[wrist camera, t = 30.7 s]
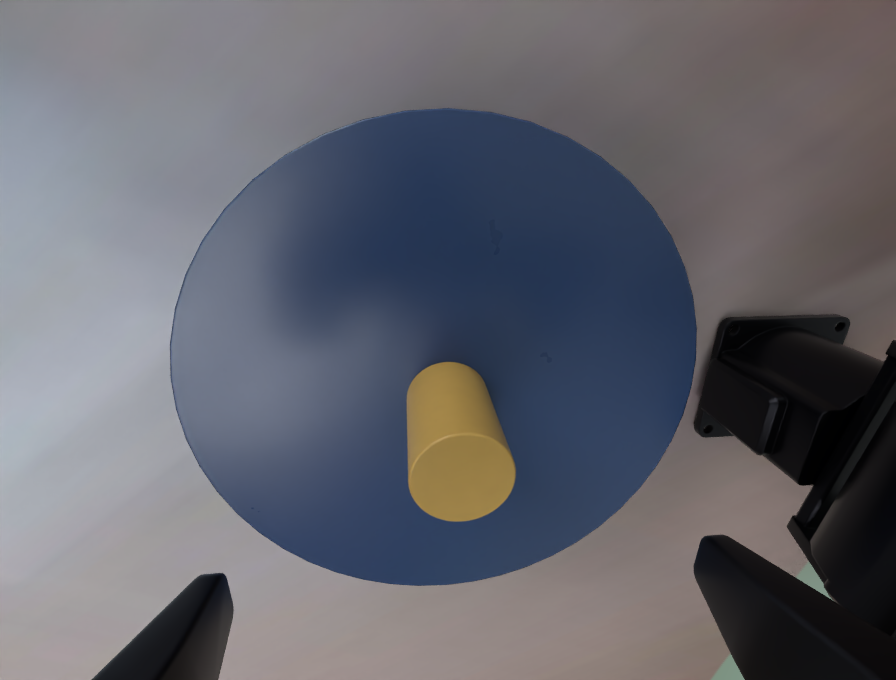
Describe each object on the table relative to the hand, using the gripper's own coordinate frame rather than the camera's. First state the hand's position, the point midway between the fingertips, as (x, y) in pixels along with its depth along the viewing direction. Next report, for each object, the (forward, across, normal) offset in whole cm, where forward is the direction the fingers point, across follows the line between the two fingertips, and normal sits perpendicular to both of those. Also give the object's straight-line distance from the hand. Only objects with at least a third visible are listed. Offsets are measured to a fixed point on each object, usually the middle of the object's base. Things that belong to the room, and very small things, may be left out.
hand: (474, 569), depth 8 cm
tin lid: (+7, 0, 0) cm, 7 cm away
